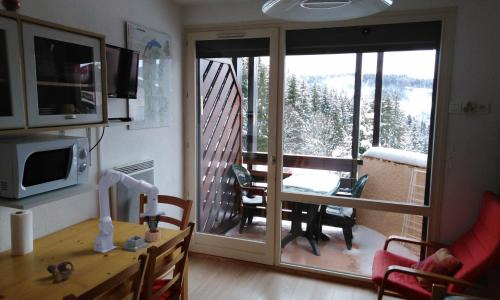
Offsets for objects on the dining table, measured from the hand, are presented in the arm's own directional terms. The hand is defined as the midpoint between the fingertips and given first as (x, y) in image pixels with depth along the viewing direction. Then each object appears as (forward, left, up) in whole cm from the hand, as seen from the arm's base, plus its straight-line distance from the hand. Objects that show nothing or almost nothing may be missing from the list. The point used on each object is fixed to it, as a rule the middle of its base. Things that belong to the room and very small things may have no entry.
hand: (152, 227), depth 219 cm
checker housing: (-14, 0, -7) cm, 16 cm away
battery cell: (0, 0, -2) cm, 2 cm away
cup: (0, 0, -7) cm, 7 cm away
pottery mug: (-58, +3, -7) cm, 58 cm away
